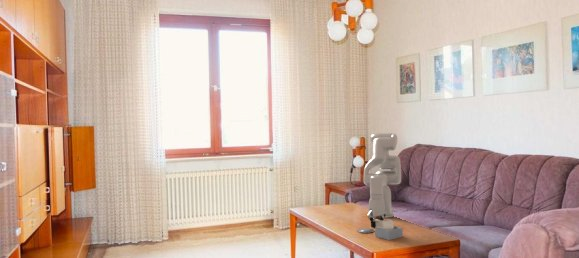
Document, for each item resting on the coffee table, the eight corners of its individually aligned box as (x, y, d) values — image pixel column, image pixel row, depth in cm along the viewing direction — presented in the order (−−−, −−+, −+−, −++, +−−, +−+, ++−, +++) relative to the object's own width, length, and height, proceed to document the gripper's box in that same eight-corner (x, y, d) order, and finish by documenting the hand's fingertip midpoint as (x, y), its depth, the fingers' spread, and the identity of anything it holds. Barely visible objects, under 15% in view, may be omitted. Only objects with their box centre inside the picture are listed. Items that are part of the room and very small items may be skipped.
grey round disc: (365, 228, 269) (365, 227, 269) (377, 231, 261) (377, 230, 261) (353, 231, 264) (353, 230, 264) (365, 234, 256) (365, 233, 256)
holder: (389, 232, 257) (388, 224, 257) (402, 236, 249) (402, 227, 249) (375, 236, 251) (375, 227, 251) (388, 240, 242) (388, 231, 242)
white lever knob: (396, 236, 249) (395, 220, 249) (388, 238, 246) (388, 222, 246) (379, 231, 260) (378, 216, 260) (371, 233, 257) (371, 218, 256)
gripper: (382, 193, 264) (383, 223, 265) (361, 197, 255) (362, 227, 255) (391, 195, 258) (392, 225, 259) (370, 199, 248) (371, 230, 249)
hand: (377, 226), depth 257 cm, fingers open, 6 cm apart
